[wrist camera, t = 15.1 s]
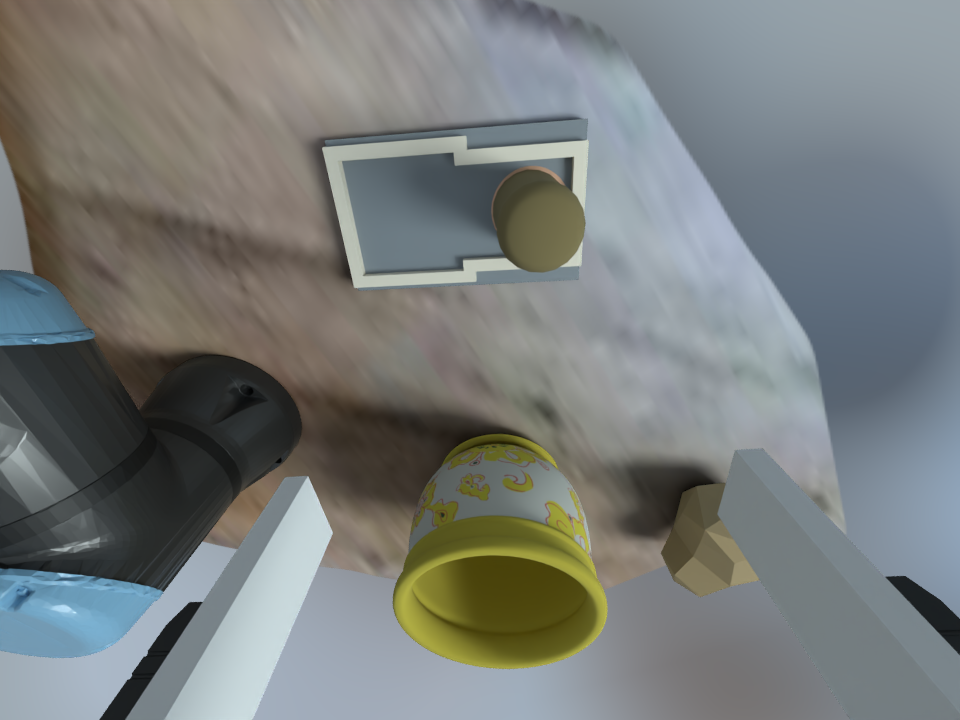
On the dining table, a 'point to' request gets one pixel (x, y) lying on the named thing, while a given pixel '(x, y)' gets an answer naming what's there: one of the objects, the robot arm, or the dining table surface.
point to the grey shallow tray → (444, 201)
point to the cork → (537, 221)
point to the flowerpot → (500, 560)
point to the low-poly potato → (704, 545)
